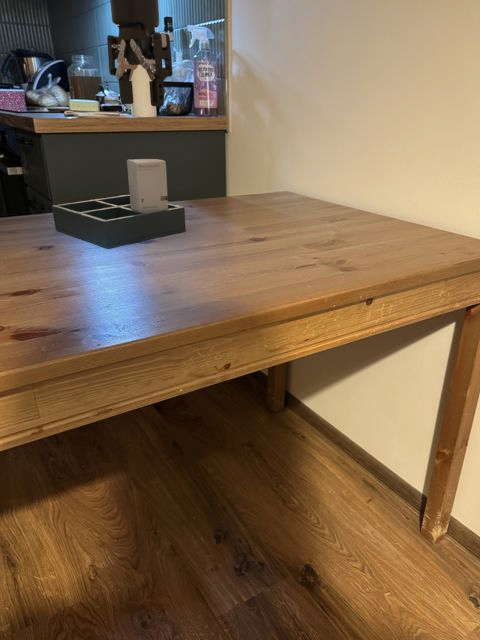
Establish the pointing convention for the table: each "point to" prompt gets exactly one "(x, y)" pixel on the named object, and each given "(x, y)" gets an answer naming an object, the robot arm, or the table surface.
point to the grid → (116, 221)
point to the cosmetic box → (147, 185)
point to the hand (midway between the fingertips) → (142, 105)
